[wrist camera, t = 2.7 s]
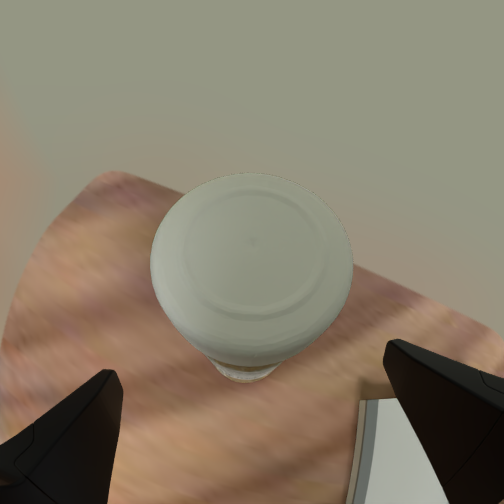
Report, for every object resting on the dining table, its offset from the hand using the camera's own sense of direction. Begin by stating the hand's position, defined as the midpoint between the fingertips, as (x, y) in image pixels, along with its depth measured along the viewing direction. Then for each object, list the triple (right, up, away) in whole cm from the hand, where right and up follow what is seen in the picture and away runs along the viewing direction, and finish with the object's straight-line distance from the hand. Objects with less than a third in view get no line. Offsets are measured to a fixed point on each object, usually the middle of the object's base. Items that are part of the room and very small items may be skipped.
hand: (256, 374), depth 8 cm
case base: (+11, -13, +5) cm, 17 cm away
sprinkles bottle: (-1, -3, +10) cm, 10 cm away
